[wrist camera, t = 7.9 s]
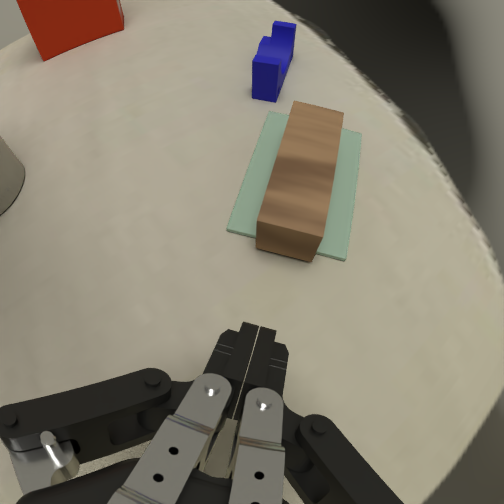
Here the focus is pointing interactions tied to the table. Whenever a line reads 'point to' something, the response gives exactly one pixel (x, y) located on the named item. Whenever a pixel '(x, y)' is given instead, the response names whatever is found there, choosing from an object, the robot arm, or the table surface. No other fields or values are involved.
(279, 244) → the walnut block
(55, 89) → the table surface
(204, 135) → the table surface
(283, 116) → the sage mat
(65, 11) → the file binder
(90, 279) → the table surface
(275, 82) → the blue cradle block
